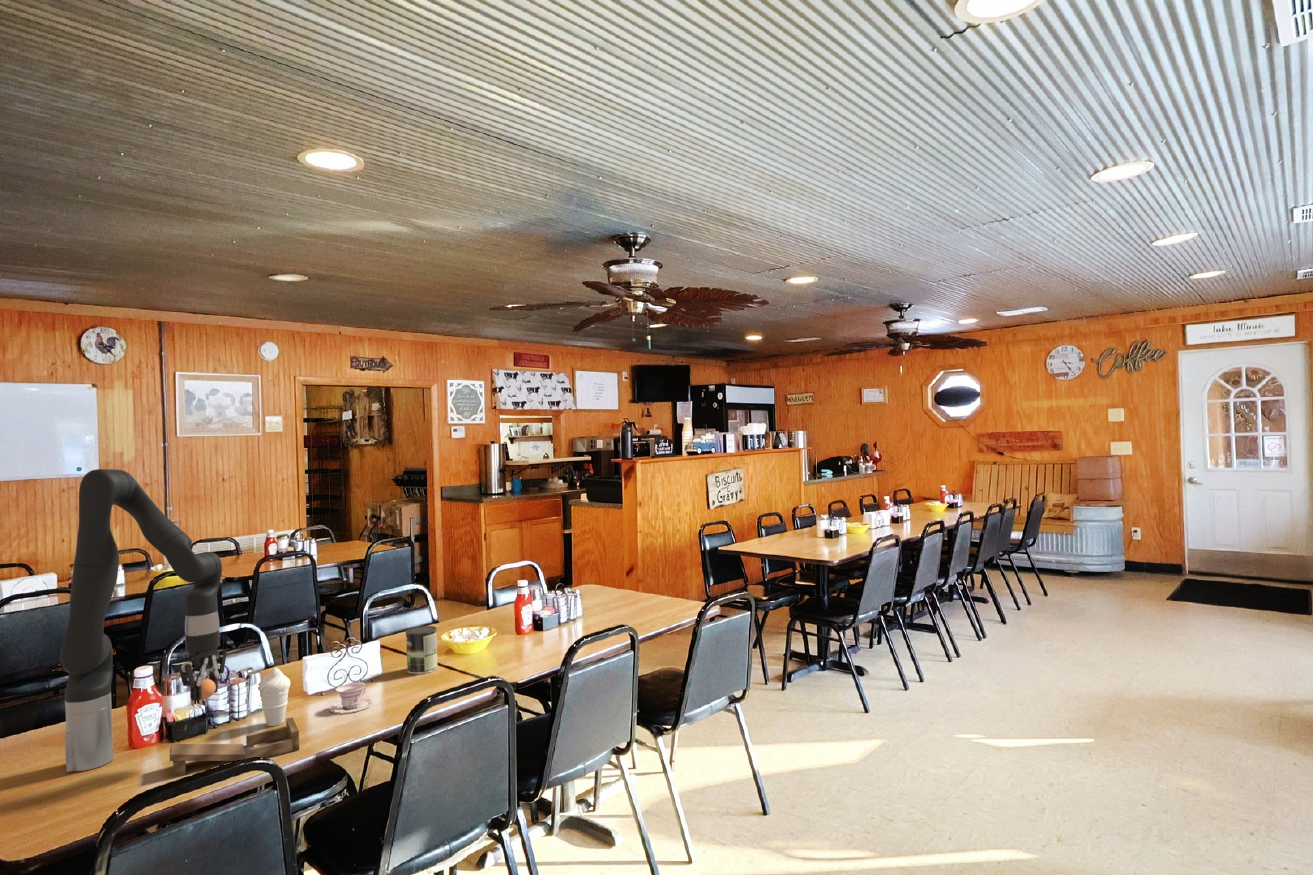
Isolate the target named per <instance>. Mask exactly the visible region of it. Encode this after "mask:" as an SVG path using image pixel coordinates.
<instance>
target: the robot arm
mask: <svg viewBox="0 0 1313 875" xmlns="http://www.w3.org/2000/svg"><path fill="white" fill-rule="evenodd" d="M113 505H115V506H117V507H119V508H121V509H122V510H124V511H125V512H127V513H128V514H129V515H130V516H131V517H132V518H133V519H134V520H135V521H136V523H137V525H138V527H139V529H140V532H141V533H142V536H143V537H144V538H145V540H146V541H147V542H148V543H149V544H150V545H151V546H152V547H154V548H155V549H156V550H157V551H158V552H159V553H160V554H161V555H163V557H165V559H166V560H167V563H168V564H169V566H170V567H171V569H172V570H173V571H174V573H175V574H176V575H177V576H178V577H179V578H180V579H181V580H183V581H184V582H187V583H191V584H192V583H193V587H192V589H191V590H190V591H189V592H188V593H187V594H186V595H185V600H184V603H185V607H184V608H185V619H184V635H185V636H184V637H185V638H184V639H185V641H184V642H185V651H186V652H187V653H188V658H187V661H186V662H185V663H180V664H179V665H178V671H179V674H180V680H181V682H182V686H184V687H189V689H190V690H189V693H190V699H191V701H192V702H193V701H194V702H197V701H201V700H202V699H201V685H200V683H201V680H202V678H203V677H204V676H205V673H206V676H207V679H210V680H212V681H213V682H214V683H215V685H216V689H215V692H214V694H216V693H218V683H219V682H218V678H219V677H220V675H221V674H223V673H225V666H226V661H227V660H226V658H227V657H226V656H227V654H228V653H227V650H226V649H218V648H219V647H220V645H221V642H220V641H221V639H220V637H221V635H220V617H219V613H218V592H219V589H220V585H221V584H220V583H221V581H222V580H221V579H222V573H223V565H222V559H221V558H220V556H218V554H216V553H215V552H213V551H205V552H204V551H203V552H199V553H195V552H194V551H193V550H192V549H191V548H192V546H193V541H192V539H191V537H190V536H189V535H188V534H187V533H185V531H183V530H182V529H181V528H180V527H179V526H177V524H175V523H174V522H173V521H172V520H171V519H170V518H169V517H167V515H165V513H163V512H162V511H161V509H160V508H159V507H158V506H157V505H156V504H155V503H154V501H153V500H152V499H151V498H150V497H149V495H148V494H147V493H146V492H145V490H144V489H143V488H142V486H141V485H140V484H139V483H138V481H137V480H136V479H135V477H133V475H131V474H130V473H129V472H128V471H125V470H122V469H108V468H107V469H104V468H101V469H100V468H99V469H98V468H97V469H92V470H90V471H89V472H87V473H85V475H84V476H83V477H82V479H81V482H80V484H79V488H78V528H77V535H76V536H77V537H76V538H77V539H76V547H75V556H74V559H73V560H74V561H73V567H72V575H71V588H70V598H69V613H68V614H69V616H68V623H67V627H66V629H65V635H64V638H63V643H62V646H61V650H60V654H59V660H60V664H61V665H62V668H63V669H64V670H65V671H67V672H68V678H67V679H68V680H67V683H66V687H65V689H64V690H65V691H64V703H65V704H64V706H65V730H66V731H65V733H64V745H65V746H64V747H65V748H64V749H65V770H66V771H65V773H70V772H71V773H72V772H82V771H83V772H85V771H89V770H93V769H96V768H99V767H102V766H105V765H106V764H109V763H111V762H112V761H113V760H114V745H113V744H114V743H113V742H114V741H113V740H114V738H113V716H112V715H113V712H112V710H113V709H112V680H113V674H114V672H113V670H114V669H113V666H114V665H113V662H114V661H113V658H114V657H113V646H112V645H113V644H112V641H111V639H110V637H109V636H108V635H107V634H105V633H104V631H105V630H104V628H105V626H104V625H105V620H106V614H107V610H108V607H109V605H110V602H111V600H112V598H113V594H114V591H115V589H116V586H117V581H118V574H119V567H120V553H119V551H120V550H119V549H118V546H117V543H116V541H115V539H114V536H113V533H112V529H111V515H112V509H113Z"/></svg>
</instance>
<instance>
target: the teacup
mask: <svg viewBox="0 0 1313 875" xmlns="http://www.w3.org/2000/svg"><path fill="white" fill-rule="evenodd" d="M366 690H367V685H366V684H365V683H364V682H352V683H347V684H343V685H339V686H338V687H337V688H335V692H337V693H338V694H339V697H340V699H341V701H339V702H336V703H334V704H333V705H331V706H330V708H329V712H330V713H333V714H336V715H337V714H338V715H339V714H340V715H345V714H352V713H353V714H354V713H357V712H361V711H364V710H366V709H368V708H370V707H371V706H372V705H373V701H372V700H371V698H363V696H365V694H366ZM360 702H368V705H364V704H362V705H361V704H360ZM338 706H344V707H343V708H341V707H339V708H338ZM359 706H367V707H365V708H363V709H360V708H358V707H359ZM355 707H356V708H358V709H355ZM344 708H345V709H344ZM352 708H353V709H352ZM334 710H357V711H352V712H343V713H341V712H335V711H334Z"/></svg>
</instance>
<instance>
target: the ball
mask: <svg viewBox="0 0 1313 875" xmlns="http://www.w3.org/2000/svg"><path fill="white" fill-rule="evenodd" d="M200 685H201V700H207V699H209V698H211V697H212V696H213V695H214V694H215V693H214V692H215V689H216V685H215V683H214V682H213V681H212V680H210V679H209V678H203V679H201V683H200Z"/></svg>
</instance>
